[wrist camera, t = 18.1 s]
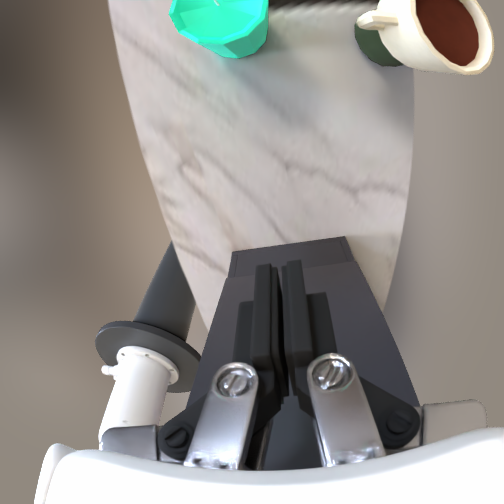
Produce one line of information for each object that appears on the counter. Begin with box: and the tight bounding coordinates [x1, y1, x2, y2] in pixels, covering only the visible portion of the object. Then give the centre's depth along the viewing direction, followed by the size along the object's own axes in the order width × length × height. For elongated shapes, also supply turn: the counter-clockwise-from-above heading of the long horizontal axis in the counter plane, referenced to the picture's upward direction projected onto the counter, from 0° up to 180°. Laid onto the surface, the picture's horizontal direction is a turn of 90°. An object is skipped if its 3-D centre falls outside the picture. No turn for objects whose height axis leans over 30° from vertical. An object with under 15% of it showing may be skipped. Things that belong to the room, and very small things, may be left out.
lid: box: [186, 261, 420, 471], centre depth 19 cm, size 20×14×1 cm
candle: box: [169, 0, 268, 58], centre depth 15 cm, size 6×6×12 cm
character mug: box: [355, 0, 494, 75], centre depth 13 cm, size 11×7×13 cm, turn 102°
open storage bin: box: [228, 236, 355, 278], centre depth 36 cm, size 20×14×5 cm
